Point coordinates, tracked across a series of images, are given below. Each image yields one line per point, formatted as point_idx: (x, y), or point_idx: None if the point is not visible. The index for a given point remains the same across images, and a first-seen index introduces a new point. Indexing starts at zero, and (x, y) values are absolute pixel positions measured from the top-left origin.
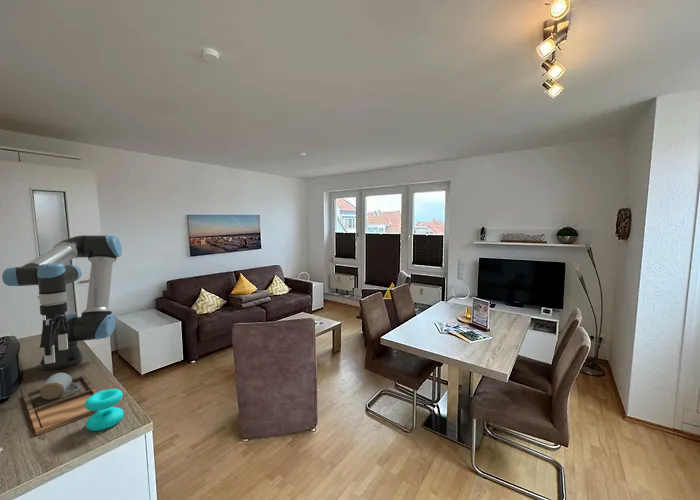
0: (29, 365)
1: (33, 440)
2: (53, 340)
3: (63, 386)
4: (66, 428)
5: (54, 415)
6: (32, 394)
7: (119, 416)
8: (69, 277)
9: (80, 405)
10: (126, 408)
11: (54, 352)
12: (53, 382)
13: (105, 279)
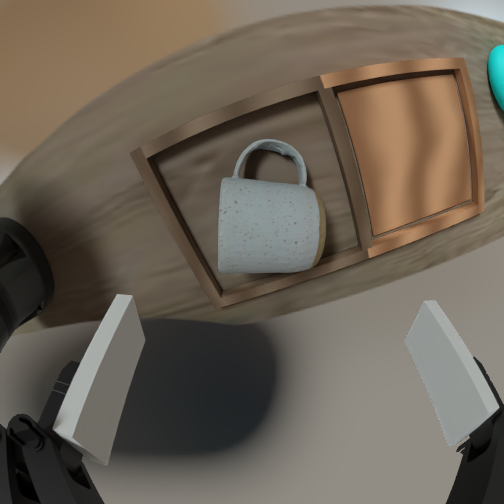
0: (30, 326)
1: (488, 208)
2: (496, 455)
3: (313, 195)
4: (489, 153)
5: (427, 185)
6: (216, 283)
7: None
8: None
9: (411, 121)
10: (473, 28)
11: (462, 357)
12: (317, 241)
13: None
